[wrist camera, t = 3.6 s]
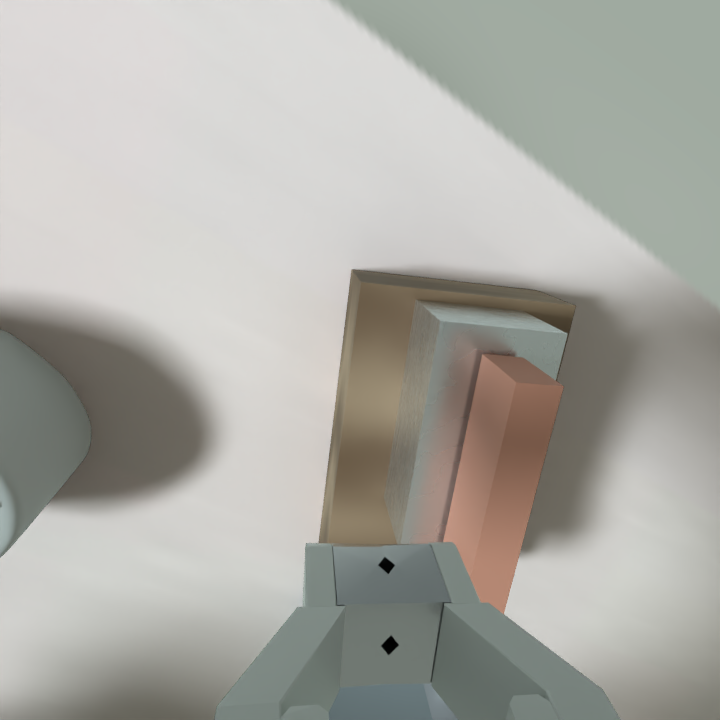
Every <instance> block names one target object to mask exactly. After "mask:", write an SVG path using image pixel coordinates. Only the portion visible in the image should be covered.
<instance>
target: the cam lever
mask: <svg viewBox="0 0 720 720" xmlns="http://www.w3.org/2000/svg"><path fill="white" fill-rule="evenodd" d="M563 388H564V386H563V385H561V384H560V383H558V382H557V381H556V380H554V379H553V378H551V377H550V376H549V375H547V374H546V373H544V372H543V371H542V370H540V369H539V368H537V367H536V366H534V365H533V364H532V363H530V362H529V361H527V360H526V359H525V358H523V357H512V356H501V355H490V354H482V358H481V363H480V368H479V372H478V377H477V382H476V387H475V392H474V396H473V401H472V406H471V411H470V416H469V420H468V425H467V430H466V435H465V440H464V444H463V449H462V454H461V459H460V464H459V468H458V473H457V478H456V483H455V488H454V492H453V497H452V502H451V507H450V512H449V516H448V521H447V526H446V531H445V536H444V540H443V542H453V543H454V544H455V545H456V547H457V549H458V551H459V554H460V556H461V558H462V560H463V563H464V565H465V567H466V570H467V572H468V574H469V576H470V579H471V581H472V583H473V586H474V588H475V590H476V592H477V595H478V597H479V599H480V602H481V603H490V604H491V605H492V606H493V607H495V608H496V609H497V610H499V611H500V612H501V613H503V614H504V611H505V607H506V603H507V600H508V596H509V592H510V588H511V584H512V581H513V577H514V573H515V569H516V566H517V562H518V558H519V554H520V550H521V547H522V543H523V539H524V535H525V532H526V528H527V524H528V520H529V516H530V513H531V509H532V505H533V501H534V498H535V494H536V490H537V486H538V482H539V479H540V475H541V471H542V467H543V463H544V460H545V456H546V452H547V448H548V445H549V441H550V437H551V433H552V429H553V426H554V422H555V418H556V414H557V411H558V407H559V403H560V399H561V395H562V392H563ZM423 685H424V689H425V692H426V696H427V700H428V704H429V708H430V712H431V716H432V719H433V720H458V718H457V717H456V716H455V715H454V713H453V712H452V711H451V710H450V709H449V707H448V706H447V705H446V704H445V702H444V701H443V700H442V699H441V697H440V696H439V695H438V694H437V693H436V691H435V690H434V689H433V688H432V686H431V684H423Z"/></svg>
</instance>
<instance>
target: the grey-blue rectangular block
mask: <svg viewBox="0 0 720 720" xmlns="http://www.w3.org/2000/svg"><path fill="white" fill-rule="evenodd" d="M567 335H568V334H567V333H565V332H563V331H561V330H559V329H557V328H555V327H553V326H551V325H549V324H548V323H546V322H544V321H542V320H540V319H538V318H536V317H534V316H532V315H530V314H528V313H526V312H524V311H518V310H509V309H499V308H490V307H481V306H471V305H462V304H452V303H443V302H433V301H424V300H416V301H415V308H414V314H413V320H412V326H411V332H410V339H409V345H408V351H407V357H406V363H405V370H404V376H403V382H402V388H401V394H400V400H399V407H398V413H397V419H396V425H395V431H394V438H393V444H392V450H391V456H390V462H389V469H388V475H387V481H386V487H385V493H384V499H385V503H386V506H387V510H388V513H389V517H390V520H391V524H392V527H393V531H394V534H395V538H396V542H397V544H425V543H426V544H428V543H434V542H443V540H444V536H445V531H446V526H447V521H448V516H449V512H450V507H451V502H452V497H453V492H454V488H455V483H456V478H457V473H458V468H459V464H460V459H461V454H462V449H463V444H464V440H465V435H466V430H467V425H468V420H469V416H470V411H471V406H472V401H473V396H474V392H475V387H476V382H477V377H478V372H479V368H480V363H481V358H482V354H490V355H501V356H512V357H523V358H525V359H526V360H527V361H529V362H530V363H532V364H533V365H534V366H536V367H537V368H539V369H540V370H542V371H543V372H544V373H546V374H547V375H549V376H550V377H551V378H553V379H554V380H556V378H557V374H558V370H559V366H560V362H561V358H562V354H563V350H564V347H565V343H566V339H567Z"/></svg>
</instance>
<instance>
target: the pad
mask: <svg viewBox="0 0 720 720" xmlns="http://www.w3.org/2000/svg"><path fill="white" fill-rule="evenodd" d="M329 720H433V719H432V716H431V712H430V708H429V704H428V700H427V696H426V692H425V689H424V685H423V684H380V685H367V686H354V687H340V688H339V692H338V694H337V696H336V698H335V700H334V702H333V704H332V706H331V708H330V710H329Z"/></svg>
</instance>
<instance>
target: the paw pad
mask: <svg viewBox="0 0 720 720" xmlns="http://www.w3.org/2000/svg"><path fill="white" fill-rule="evenodd" d="M90 443H91V425H90V421H89V418H88V415H87V413H86V410H85V408H84V406H83V404H82V402H81V401H80V399H79V397H78V396H77V394H76V393H75V391H74V390H73V388H72V387H71V385H70V384H69V383H68V381H67V380H66V379H65V378H64V377H63V376H62V375H61V374H60V373H59V372H58V371H57V370H56V369H55V368H54V367H53V366H52V365H50V364H49V363H48V362H47V361H46V360H45V359H43V358H42V357H41V356H40V355H39V354H37V353H36V352H35V351H33V350H32V349H31V348H30V347H28V346H27V345H26V344H24V343H23V342H22V341H20V340H19V339H17V338H16V337H14V336H13V335H11V334H10V333H8V332H6V331H4V330H1V329H0V557H1V556H3V555H4V554H5V553H6V552H7V551H8V550H9V549H10V548H11V546H12V545H13V544H14V543H15V542H16V541H17V539H18V538H19V537H20V536H21V535H22V534H23V532H24V531H25V530H26V529H27V528H28V527H29V525H30V524H31V523H32V522H33V521H34V519H35V518H36V517H37V516H38V515H39V513H40V512H41V511H42V510H43V509H44V507H45V506H46V505H47V504H48V503H49V501H50V500H51V499H52V498H53V497H54V495H55V494H56V493H57V492H58V490H59V489H60V488H61V487H62V486H63V484H64V483H65V482H66V481H67V479H68V478H69V477H70V476H71V475H72V473H73V472H74V471H75V470H76V469H77V467H78V466H79V465H80V464H81V462H82V461H83V460H84V458H85V457H86V455H87V453H88V450H89V447H90Z"/></svg>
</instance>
